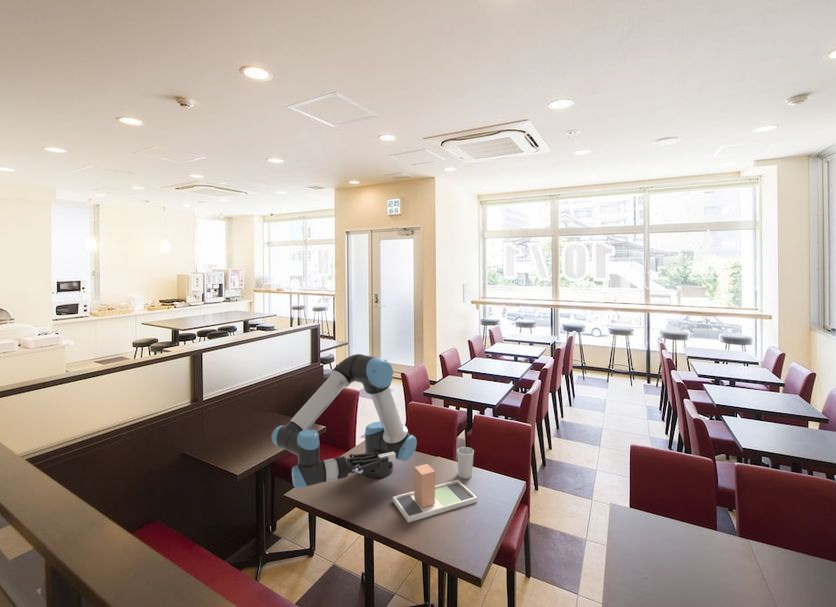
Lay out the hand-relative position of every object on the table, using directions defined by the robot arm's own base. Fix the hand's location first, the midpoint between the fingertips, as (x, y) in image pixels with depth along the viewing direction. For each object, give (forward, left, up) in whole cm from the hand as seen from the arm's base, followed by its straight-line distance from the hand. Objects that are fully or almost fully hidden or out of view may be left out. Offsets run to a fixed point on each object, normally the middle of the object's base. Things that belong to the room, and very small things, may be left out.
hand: (394, 455), depth 160 cm
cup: (-13, +41, -24) cm, 50 cm away
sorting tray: (0, +18, -24) cm, 30 cm away
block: (0, +13, -22) cm, 26 cm away
